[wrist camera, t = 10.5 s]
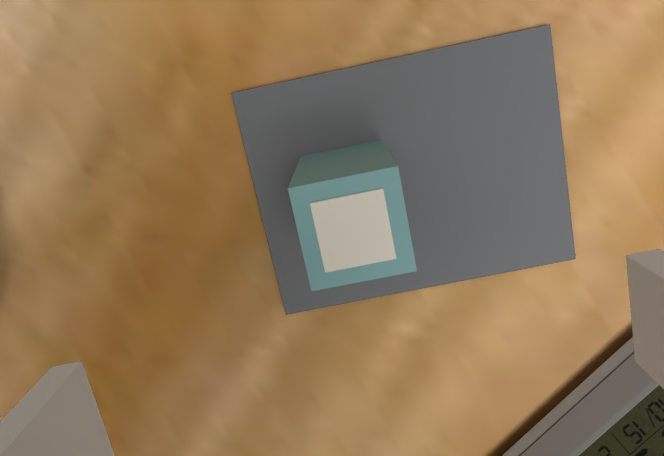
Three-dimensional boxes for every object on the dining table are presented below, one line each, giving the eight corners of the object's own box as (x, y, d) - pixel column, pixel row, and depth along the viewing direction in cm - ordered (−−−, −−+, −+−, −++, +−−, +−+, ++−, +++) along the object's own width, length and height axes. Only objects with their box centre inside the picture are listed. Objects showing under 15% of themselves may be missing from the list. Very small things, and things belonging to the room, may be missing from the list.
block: (317, 233, 34) (311, 292, 25) (300, 156, 33) (287, 189, 24) (395, 218, 34) (417, 272, 25) (381, 139, 32) (398, 166, 24)
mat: (286, 312, 36) (285, 314, 35) (232, 92, 32) (231, 92, 32) (572, 256, 35) (575, 258, 34) (547, 24, 31) (550, 24, 31)
